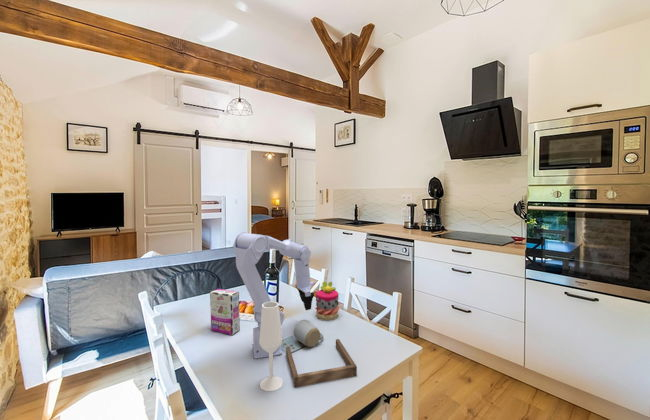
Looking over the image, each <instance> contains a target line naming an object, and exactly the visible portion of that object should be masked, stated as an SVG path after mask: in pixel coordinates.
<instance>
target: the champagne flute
mask: <svg viewBox="0 0 650 420" xmlns="http://www.w3.org/2000/svg"><path fill="white" fill-rule="evenodd" d="M279 305H280V304H279V302H277V301H272V302H266V303H264V304H262V314H261V326H260V339H259V344H260V346H261V347H262V349H263V350H265V351H266V352H268V353H269V357H268V364H269V365H268V368H269V369H268V370H269V371H268V373H269V376H268V377H265V378H263V379H262V380H261V381H260V382H259V387H260V389H261V390H263V391H265V392H273V391H274V392H275V391H276V390H278V389H280V388H281V387H282V386H283V383H284V382H283V379H282V378H281V377H279V376H277V375H276V376H275V375H274V356H273V352H275V351H276V350H277V349H278V348H279V347H281V345H282V344H283V333H282V325H281V322H280V313H279V310H280V306H279Z"/></svg>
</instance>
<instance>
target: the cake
mask: <svg viewBox="0 0 650 420" xmlns="http://www.w3.org/2000/svg"><path fill="white" fill-rule="evenodd" d="M336 289H337V288H336V287H335V286H334V287H333V282H332V281H329V282H328V283H327V281H323V282H322V284H321V286H320V289H319V290H317V291H316V292H315V301H316V303H315V310H316V315H315V316H316V318H317V319H318V320H321V321H333V320H334V321H335V320H336V319H338V317H339V313H338V312H339V310H340V306H339V292H338V291H337V290H336Z"/></svg>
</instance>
